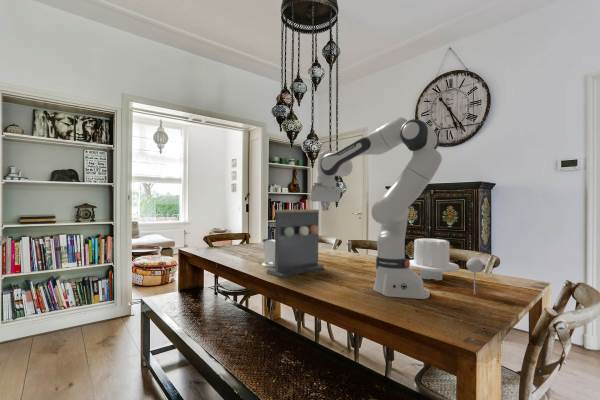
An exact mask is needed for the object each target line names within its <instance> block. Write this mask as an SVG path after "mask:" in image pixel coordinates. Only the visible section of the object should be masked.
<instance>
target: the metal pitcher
mask: <svg viewBox="0 0 600 400" xmlns="http://www.w3.org/2000/svg"><path fill="white" fill-rule="evenodd" d="M262 243H263V245H262V252H263V253H264V262H263V263H261V266H262V267H271V268H272V267H273V268H275V239H269V238H263V239H262Z"/></svg>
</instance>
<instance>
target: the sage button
mask: <svg viewBox="0 0 600 400" xmlns="http://www.w3.org/2000/svg"><path fill="white" fill-rule="evenodd" d="M283 233H284V235H285V236H288V237H292V236H293V235H294V229H293V228H292V227H285V228H284V231H283Z"/></svg>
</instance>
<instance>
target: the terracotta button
mask: <svg viewBox="0 0 600 400" xmlns="http://www.w3.org/2000/svg"><path fill="white" fill-rule="evenodd" d="M319 231H320V228H318V226H316V225H311V226H310V228H309V232H310V233H311V234H317V233H318V234H319Z"/></svg>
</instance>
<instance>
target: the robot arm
mask: <svg viewBox="0 0 600 400" xmlns="http://www.w3.org/2000/svg"><path fill="white" fill-rule="evenodd" d="M439 138H440V137H439V135H438V134H437V132H436V131H435V130H434V129H433V128H432V126H431V125H429V124H428V123H426V122H425V121H423V120H421V119H418V118H417V119H415V118H414V119H413V118H412V119H409V120H408V119H406V118H405V117H397V118H394V119H392V120H390V121H388V122H385V123H384V124H383V125H381V126H379V127H378V128H376V129H375V130H373V131H372V132H370V133H369V134H367V135H364V136H363V137H361V138H360V139H356V140H355V141H353V142H351V143H350V144H348V145H346V146H344V147H342V148H341V149H340V150H339V149H338V150H337V151H335V152H334V151H332V150H324V151H322V152H320V153H319V155H318V157H317V167H316V169H317V177H316V181H317V182H314V183H313V184H312V185H311V190H310V199H309V200H310V201H311V202H320V205H321V208H322V209H321V210H322V212H323V211H324V212H325V211H326V212H329V209H330V205H331V203H335V202H336V203H338V202H340V200H341V189H340V188H341V183H340V182H338V181H337V180H336V177H347V176H349V175H350V174H351V172H352V170H353V163H352V161H351V160H353V159H355V158H357V157H360V156H365V155H366V156H367V155H373V156H375V155H377V156H378V155H383V154H385V153H387V152H389V151H391V150H392V149H394V148H396V147H398V146H399V145H401V144H404V145H405V146H406V148H407V149H408V150H409V151H410V152H412V157H411V159H410V160H409V162H408V163H407V165H406V166H405V168H404V169H403V170H402V172H401V173H400V175H399V176H398V177H397V179H396V181H395V182H394V183H393V184H392V185H391V186H390V187H389V188H388V189H387V191H386V192H384V194H382V196H381V197H380V198H379V199H378V201H376V202H375V203H374V204H373V206H372V208H371V216H372V218H373V220H374V221H376V223H378V224H380V225H381V226H380V230H379V234H378V236H377V252H376V253H377V256H376V259H375V268H376V269H375V270H376V275H375V281H374V285H373V288H372V289H373V291H374V292H376V293H379V294H381V295H383V296H385V297H391V298H392V297H393V298H402V299H403V298H406V299H415V300H416V299H419V300H426V299H429V298H430V295H431V292H430V290H429V289H427V288H425V284H424V279H422V278H421V277H420V274H418V273H417V272H415V271H414V269H413V268H410V267H409V266H410V261H409V260H410V259H407V258H406V257H405V241H406V240H405V239H406V234H407V233H406V232H407V226H408V218H409V214H410V209H409V207H410V206H411V205H412V204H413V203H414V202H415V201H416V200H417V199H418V198H419V197H420V196H421V194H422V193H423V192H424V190H425V188H427V186H428V185H429V183H430V182H431V180H432V179H433V177H434V176H435V174H436V173H437V171H438V169H439V167H440V166H441V163H442V160H443V157H442V155H441V153H440V152H439V151H438V150H437V149H438V147H439V145H440V139H439Z"/></svg>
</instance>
